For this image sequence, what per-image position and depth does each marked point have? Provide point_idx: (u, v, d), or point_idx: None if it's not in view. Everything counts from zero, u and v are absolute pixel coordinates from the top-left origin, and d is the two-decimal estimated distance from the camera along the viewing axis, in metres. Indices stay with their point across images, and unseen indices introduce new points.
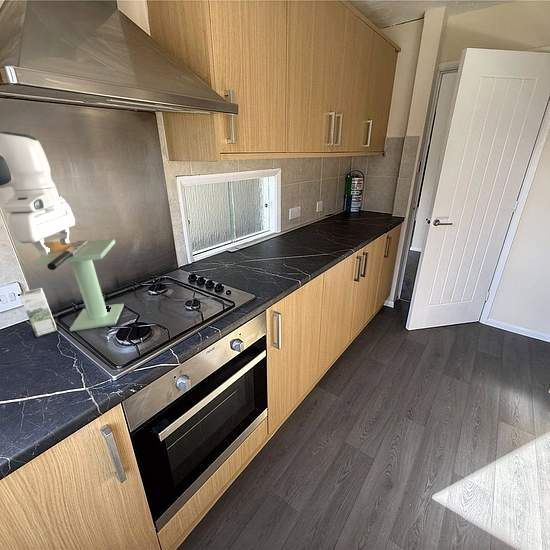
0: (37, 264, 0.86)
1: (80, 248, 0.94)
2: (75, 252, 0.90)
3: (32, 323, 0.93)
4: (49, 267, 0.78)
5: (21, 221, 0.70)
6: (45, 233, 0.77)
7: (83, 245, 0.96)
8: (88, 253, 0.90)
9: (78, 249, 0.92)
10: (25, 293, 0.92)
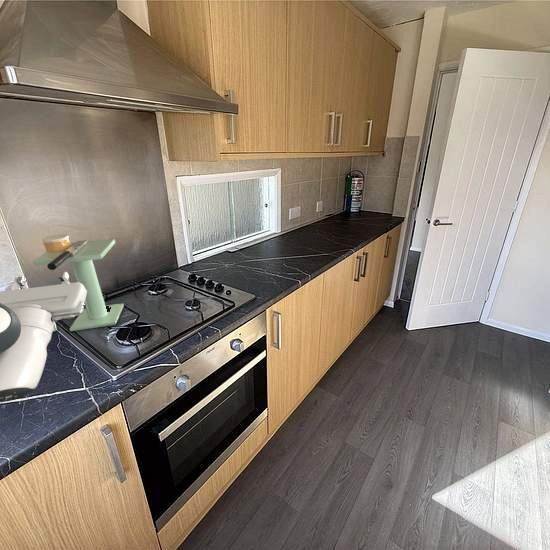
0: (37, 264, 0.86)
1: (80, 248, 0.94)
2: (75, 252, 0.90)
3: None
4: (49, 267, 0.78)
5: None
6: None
7: (83, 245, 0.96)
8: (88, 253, 0.90)
9: (78, 249, 0.92)
10: None
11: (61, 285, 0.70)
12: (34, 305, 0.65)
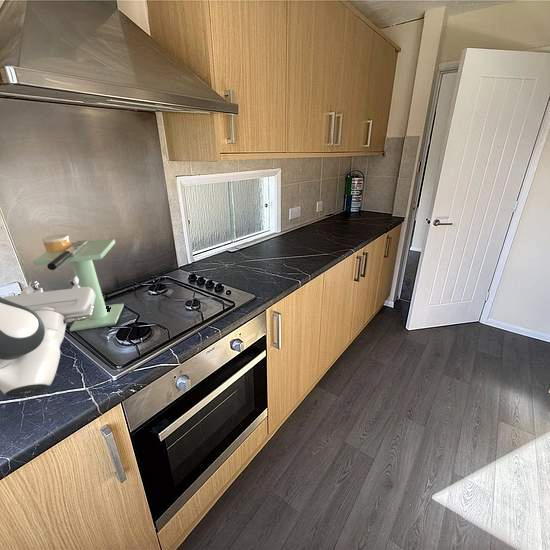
0: (37, 264, 0.86)
1: (80, 248, 0.94)
2: (75, 252, 0.90)
3: None
4: (49, 267, 0.78)
5: None
6: None
7: (83, 245, 0.96)
8: (88, 253, 0.90)
9: (78, 249, 0.92)
10: None
11: (72, 289, 0.75)
12: (48, 308, 0.71)
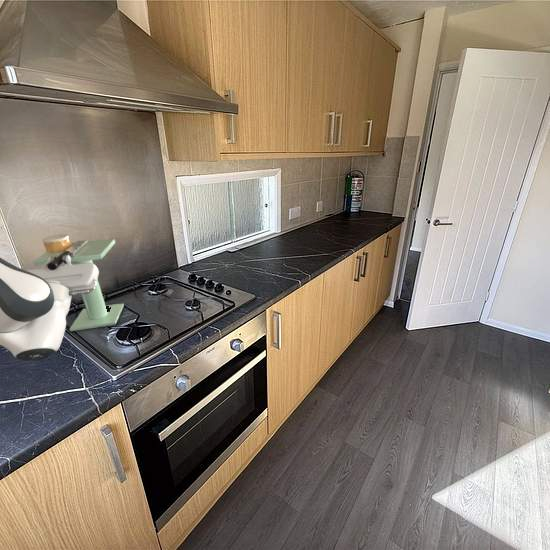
0: (37, 264, 0.86)
1: (80, 248, 0.94)
2: (75, 252, 0.90)
3: None
4: (49, 267, 0.78)
5: None
6: None
7: (83, 245, 0.96)
8: (88, 253, 0.90)
9: (78, 249, 0.92)
10: None
11: (77, 265, 0.80)
12: (54, 281, 0.75)
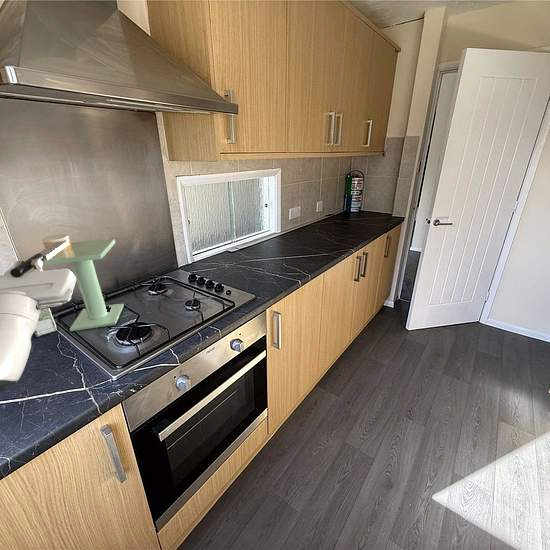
0: None
1: (57, 250, 0.79)
2: (50, 255, 0.75)
3: None
4: (13, 274, 0.63)
5: None
6: None
7: (61, 246, 0.81)
8: (88, 253, 0.90)
9: (54, 251, 0.77)
10: None
11: (48, 271, 0.65)
12: (18, 292, 0.60)
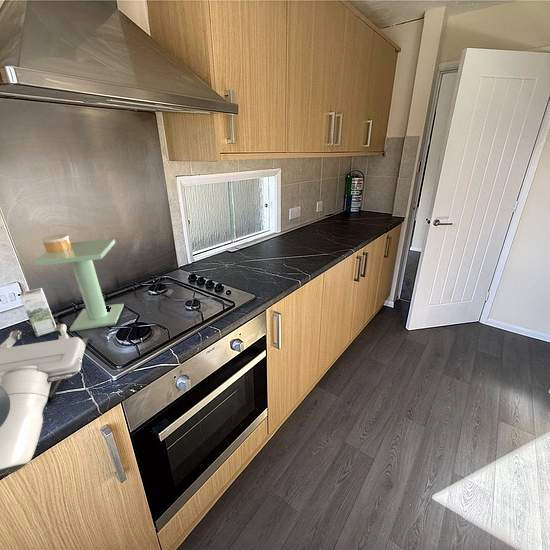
0: (37, 264, 0.86)
1: None
2: None
3: (32, 323, 0.93)
4: None
5: None
6: None
7: None
8: (88, 253, 0.90)
9: None
10: (25, 293, 0.92)
11: (58, 341, 0.67)
12: (29, 366, 0.62)
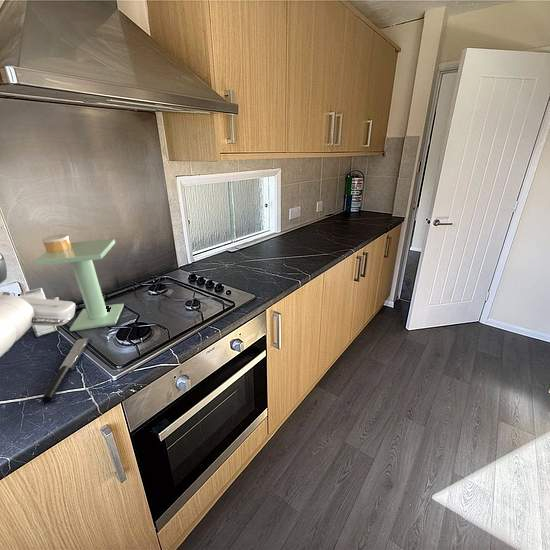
0: (37, 264, 0.86)
1: (80, 354, 0.85)
2: (74, 364, 0.81)
3: None
4: (44, 400, 0.69)
5: None
6: None
7: (83, 348, 0.88)
8: (88, 253, 0.90)
9: (77, 357, 0.84)
10: (25, 293, 0.92)
11: (53, 300, 0.67)
12: None
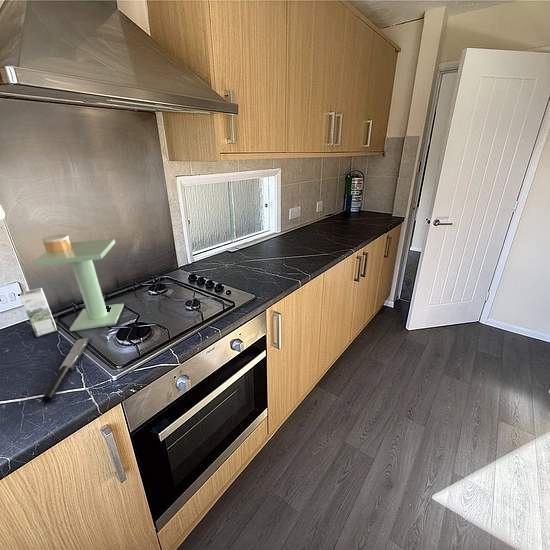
0: (37, 264, 0.86)
1: (80, 354, 0.85)
2: (74, 364, 0.81)
3: (32, 323, 0.93)
4: (44, 400, 0.69)
5: None
6: None
7: (83, 348, 0.88)
8: (88, 253, 0.90)
9: (77, 357, 0.84)
10: (25, 293, 0.92)
11: None
12: None
